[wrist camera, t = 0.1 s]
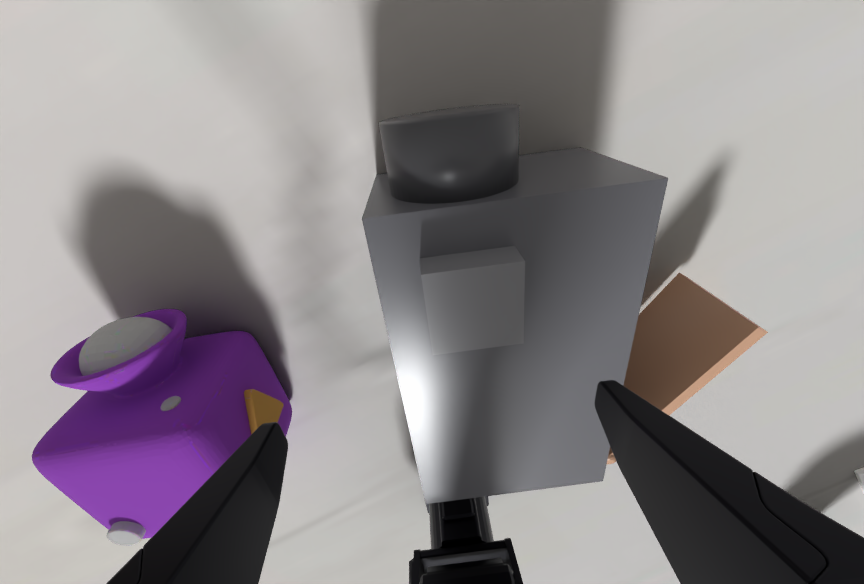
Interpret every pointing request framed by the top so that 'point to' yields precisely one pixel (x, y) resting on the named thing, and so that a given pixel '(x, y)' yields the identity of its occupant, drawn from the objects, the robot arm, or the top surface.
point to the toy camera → (154, 418)
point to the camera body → (506, 296)
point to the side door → (684, 344)
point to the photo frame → (860, 477)
